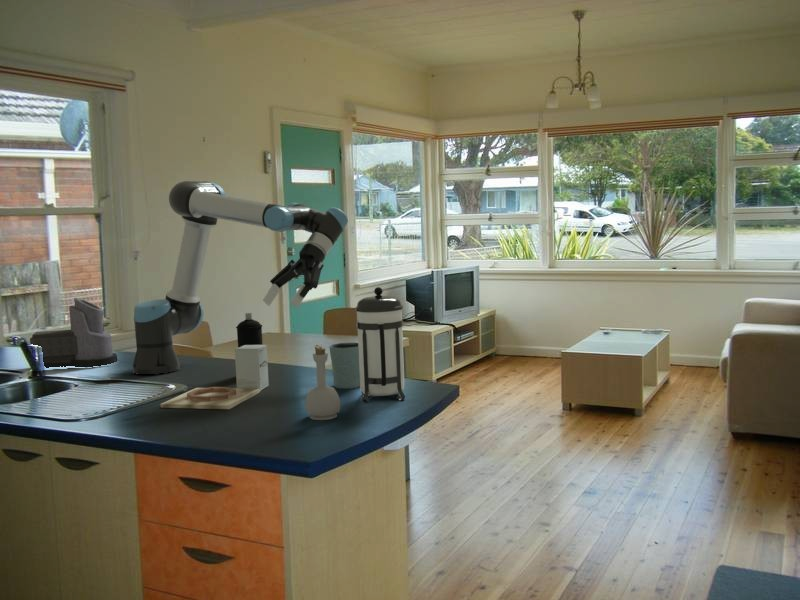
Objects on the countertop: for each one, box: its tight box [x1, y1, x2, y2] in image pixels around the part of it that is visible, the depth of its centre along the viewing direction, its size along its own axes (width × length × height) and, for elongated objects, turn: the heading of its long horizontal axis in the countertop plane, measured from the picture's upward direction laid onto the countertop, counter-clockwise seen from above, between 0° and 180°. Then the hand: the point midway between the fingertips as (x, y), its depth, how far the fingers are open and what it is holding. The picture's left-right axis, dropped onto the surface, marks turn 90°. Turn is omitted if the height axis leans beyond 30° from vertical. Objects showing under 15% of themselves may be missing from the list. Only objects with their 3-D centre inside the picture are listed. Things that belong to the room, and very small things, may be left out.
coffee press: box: [354, 286, 406, 403], centre depth 215 cm, size 17×16×30 cm
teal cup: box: [328, 342, 360, 390], centre depth 234 cm, size 10×10×12 cm
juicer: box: [29, 297, 118, 368], centre depth 284 cm, size 30×16×24 cm, turn 105°
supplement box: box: [234, 344, 270, 392], centre depth 234 cm, size 7×7×13 cm
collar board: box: [160, 386, 261, 410], centre depth 222 cm, size 20×20×2 cm
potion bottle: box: [304, 344, 342, 421], centre depth 198 cm, size 9×9×18 cm
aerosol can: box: [235, 312, 264, 348], centre depth 254 cm, size 8×8×20 cm
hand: (279, 304), depth 239 cm, fingers open, 13 cm apart
